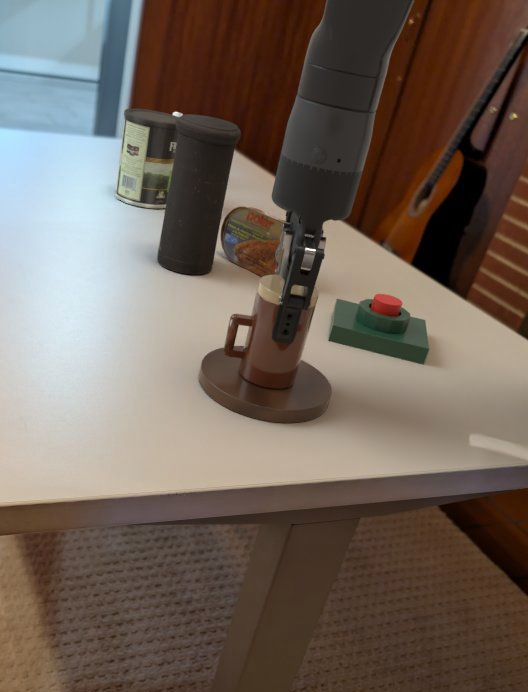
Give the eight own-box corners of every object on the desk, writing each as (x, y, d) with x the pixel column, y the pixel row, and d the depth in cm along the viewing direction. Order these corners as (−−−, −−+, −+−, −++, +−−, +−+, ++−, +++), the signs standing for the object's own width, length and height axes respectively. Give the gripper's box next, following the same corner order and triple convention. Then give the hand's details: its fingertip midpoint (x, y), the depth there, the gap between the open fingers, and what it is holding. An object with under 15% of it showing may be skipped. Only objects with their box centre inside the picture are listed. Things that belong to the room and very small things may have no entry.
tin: (214, 253, 115) (225, 198, 111) (229, 251, 117) (240, 197, 113) (287, 291, 107) (302, 232, 102) (301, 288, 109) (316, 231, 104)
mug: (289, 365, 82) (313, 279, 77) (299, 392, 77) (324, 302, 72) (217, 355, 81) (235, 267, 76) (221, 382, 76) (241, 290, 71)
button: (397, 310, 97) (402, 298, 96) (398, 320, 94) (402, 307, 93) (370, 304, 97) (374, 291, 96) (370, 313, 94) (374, 300, 93)
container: (207, 257, 113) (234, 115, 103) (219, 279, 106) (250, 129, 95) (151, 250, 111) (172, 105, 101) (159, 272, 104) (183, 119, 93)
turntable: (331, 376, 85) (335, 365, 85) (323, 436, 74) (327, 423, 73) (212, 346, 87) (214, 334, 86) (185, 400, 75) (188, 387, 74)
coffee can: (176, 199, 138) (190, 117, 130) (165, 213, 129) (179, 126, 121) (122, 187, 138) (132, 105, 131) (107, 200, 129) (117, 112, 122)
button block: (419, 334, 101) (429, 307, 99) (423, 365, 93) (434, 335, 91) (332, 313, 102) (340, 285, 100) (328, 341, 94) (336, 311, 92)
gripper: (376, 183, 62) (322, 365, 70) (353, 149, 74) (310, 308, 83) (286, 165, 61) (244, 351, 70) (278, 134, 74) (243, 296, 82)
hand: (280, 327), depth 76 cm, fingers closed on mug, 6 cm apart
